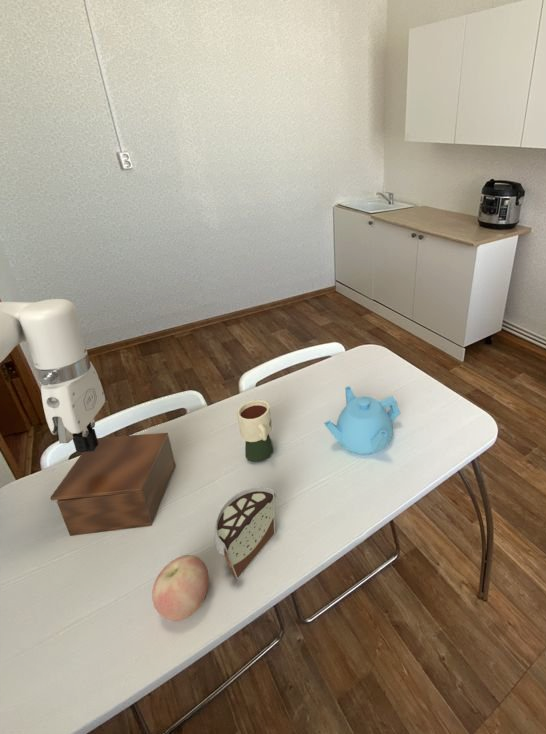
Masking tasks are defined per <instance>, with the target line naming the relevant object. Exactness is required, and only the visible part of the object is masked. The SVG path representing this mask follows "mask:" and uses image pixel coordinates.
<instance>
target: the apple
mask: <svg viewBox="0 0 546 734" xmlns="http://www.w3.org/2000/svg"><path fill="white" fill-rule="evenodd" d="M209 582H210V576H209V570H208V568H207V566H206V563H205V562H204V561H203V560H202V559H201V558H200V557H199V556H197V555H194V554H185V555H181V556H179V557H176V558H175V559H173V560H171V561H170V562H169V563H167V565H165V566H164V567H163V569H162V570H161V571H160V572H159V573H158V575H157V577H156V578H155V580H154V583H153V586H152V591H151V598H152V600H151V601H152V604H153V607H154V608H155V610H156V612H157V613H158V614H159V615H160V617H162V618H163V619H165V620H167V621H171V622H180V621H184V620H186V619H188V618H189V617H191V616H192V615H194V613H195V612H196V611H197V610H199V608H200V607H201V606H202V604H203V602H204V600H205V598H206V595H207V593H208V588H209Z"/></svg>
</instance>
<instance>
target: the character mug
mask: <svg viewBox="0 0 546 734" xmlns="http://www.w3.org/2000/svg"><path fill="white" fill-rule="evenodd" d="M236 413H237V415H236V416H237V420H238V427H239V433H240V438H241V439H242V440H243V441H245V443H244V444H245V447H244V450H245V451H244V452H245V454H244V455H245V458H246V460H247V461H248V462H251V463H260V462H263V461H266V460H268V459H269V458H271V456H272V454H273V453H274V447H273V443H272V439H271V436H270V433H271V432H272V429H273V423H272V413H271V407H270V404H269V402H268V401H266V400H264V399H252V400H248V401H245V402H244V403H242V404H241V405H240V406H239V407H238V409H237V412H236Z"/></svg>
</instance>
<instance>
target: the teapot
mask: <svg viewBox="0 0 546 734" xmlns="http://www.w3.org/2000/svg"><path fill="white" fill-rule="evenodd" d="M345 402H346V403H345V406H344V408H343V409H341V412H340V414H339V416H338V418H337V421H336V424H335V423H334V422H333V421H331V420H330V419H328V420H327V421H324V422H323V424H324V426H325V427H326V428H327V430H328V431H329V432H330V433H331V435H332V436H333V437H334V438H335V439H336V441H337V442H338V443H339V444H340V445H341V446H342V447H343V448H344V449H346V450H347V451H349V452H350V453H353V454H355V455H362V456H365V455H372V454H376V453H377V452H380V451H381V450H383V449H384V448H385V447H387V445H388V444H389V443H390V442H391V440H392V439H393V432H394V430H393V429H394V428H393V422H394V421H395V420H396V419H397V418H398V417H399V416H400V415H401V410H400V407H399V406H398V405H399V404H398V403H397V400H396V398H395V397H394V396H393V395H391V396H388V397H386V398H384V399H382V400H380V401H378V400H377V399H376V398H374V397H370V396H359V397H356V396H355V394H354V392H353V389H352V387H351V386H349V385H348V386H345ZM387 408H390V409H389V410H387Z"/></svg>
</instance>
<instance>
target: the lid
mask: <svg viewBox="0 0 546 734" xmlns="http://www.w3.org/2000/svg"><path fill="white" fill-rule="evenodd" d="M168 435H169V432H158V433H145V434H132V435H121V436H120V435H119V436H108V437H97V440H98V446H97V447H96V449H95V450H94V451H91V452H81V454H80V455H79V457H78V459H76V461H75V462H74V464H73V465H72V467H71V468H70V469H69V471H68V472H67V474H66V475H65V476H64V478H63V479H62V481H61V482H60V483H59V484H58V486H57V487H56V489H55V491H53V493H52V495H50V498H49V499H50V501H58V500H61V499H72V498H82V497H92V496H103V495H113V494H123V493H133V492H141V491H142V489H143V487H144V485H145V483H146V481H147V479H148V477H149V475H150V472H151V470H152V468H153V466H154V464H155V462H156V460H157V458H158V456H159V454H160V451H161V449H162V447H163V445H164V443H165V441H166V439H167V437H168Z"/></svg>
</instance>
